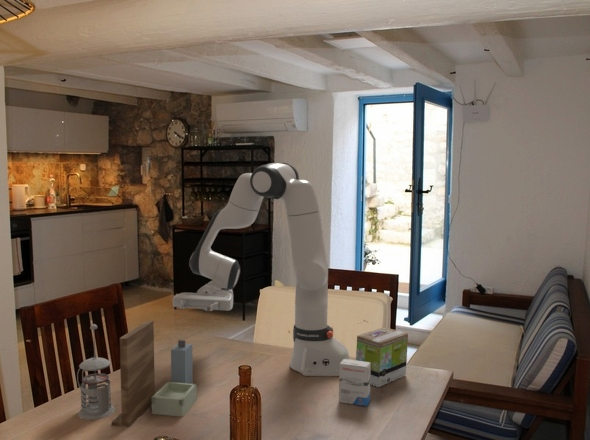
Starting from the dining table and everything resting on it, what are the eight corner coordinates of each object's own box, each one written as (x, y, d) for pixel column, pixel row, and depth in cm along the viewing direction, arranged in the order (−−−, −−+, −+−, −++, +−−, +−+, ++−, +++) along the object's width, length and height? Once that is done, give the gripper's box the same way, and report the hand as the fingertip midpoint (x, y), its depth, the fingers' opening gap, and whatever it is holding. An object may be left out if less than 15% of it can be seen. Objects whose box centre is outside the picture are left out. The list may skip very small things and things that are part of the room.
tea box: (379, 389, 173) (380, 342, 171) (354, 379, 180) (355, 335, 178) (407, 376, 183) (408, 332, 182) (382, 367, 190) (383, 325, 189)
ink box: (370, 400, 165) (371, 361, 163) (367, 407, 160) (368, 367, 159) (342, 395, 167) (343, 357, 166) (338, 402, 163) (339, 363, 162)
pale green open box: (196, 399, 164) (196, 384, 163) (182, 416, 153) (182, 400, 152) (167, 397, 165) (167, 381, 165) (151, 413, 154) (151, 397, 154)
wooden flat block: (154, 401, 162) (153, 321, 160) (129, 427, 147) (126, 338, 144) (138, 400, 163) (137, 320, 160) (111, 425, 147) (108, 337, 145)
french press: (93, 423, 149) (90, 332, 146) (65, 412, 155) (62, 324, 152) (122, 409, 157) (120, 322, 154) (95, 399, 163) (92, 316, 160)
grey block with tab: (192, 384, 175) (192, 337, 173) (185, 392, 169) (185, 344, 167) (179, 383, 176) (178, 336, 174) (171, 390, 170) (170, 343, 168)
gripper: (181, 286, 197) (165, 296, 183) (237, 290, 193) (225, 299, 179) (181, 304, 197) (165, 314, 184) (237, 307, 194) (225, 319, 180)
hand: (195, 307), depth 182 cm, fingers open, 8 cm apart
